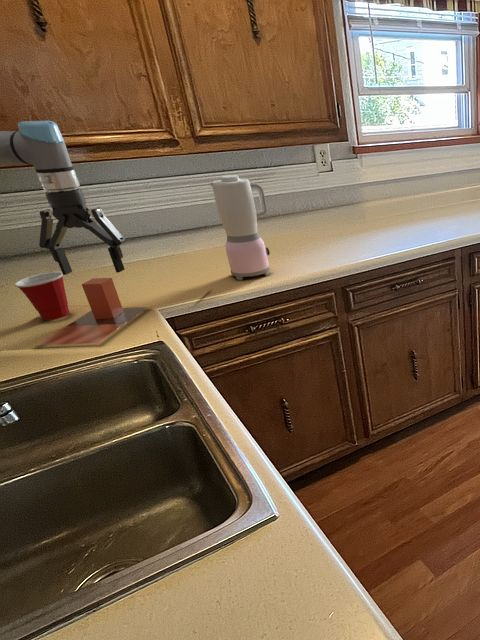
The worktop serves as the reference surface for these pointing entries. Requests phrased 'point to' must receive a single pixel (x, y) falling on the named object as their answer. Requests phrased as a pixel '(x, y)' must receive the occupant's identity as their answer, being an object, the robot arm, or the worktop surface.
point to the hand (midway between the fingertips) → (94, 272)
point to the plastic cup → (46, 294)
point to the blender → (241, 225)
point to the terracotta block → (102, 298)
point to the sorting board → (90, 328)
